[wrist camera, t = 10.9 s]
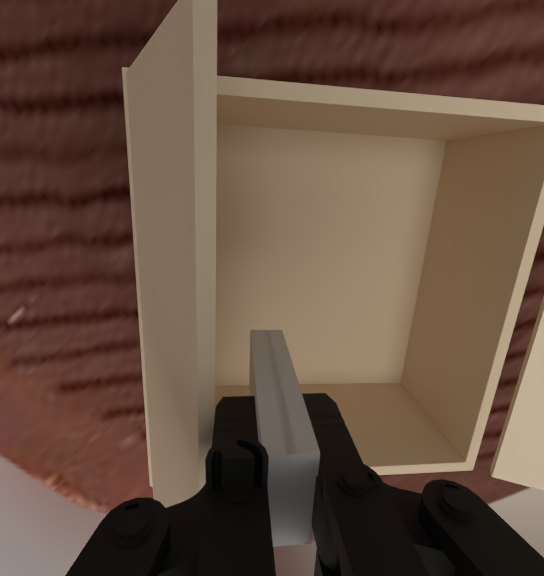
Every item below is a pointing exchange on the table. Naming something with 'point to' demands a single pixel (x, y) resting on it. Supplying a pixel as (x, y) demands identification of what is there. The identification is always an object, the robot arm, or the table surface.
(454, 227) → the carton
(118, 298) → the table surface
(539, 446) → the flap
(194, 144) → the flap
